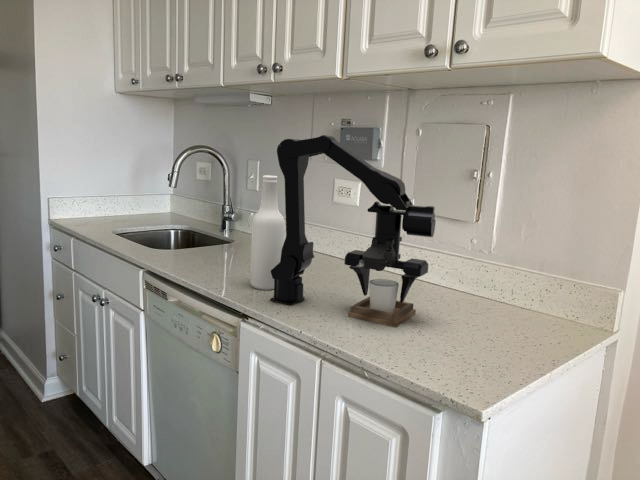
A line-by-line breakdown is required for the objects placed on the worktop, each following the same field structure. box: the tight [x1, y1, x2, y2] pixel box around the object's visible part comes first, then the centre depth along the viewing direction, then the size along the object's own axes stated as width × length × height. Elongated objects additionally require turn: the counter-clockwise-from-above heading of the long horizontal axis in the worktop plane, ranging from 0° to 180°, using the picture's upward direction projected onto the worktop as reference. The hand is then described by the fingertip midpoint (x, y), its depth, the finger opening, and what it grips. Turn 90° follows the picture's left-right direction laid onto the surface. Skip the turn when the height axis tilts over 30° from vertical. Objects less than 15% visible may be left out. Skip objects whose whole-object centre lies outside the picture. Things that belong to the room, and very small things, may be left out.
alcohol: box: [249, 174, 286, 291], centre depth 142 cm, size 9×9×30 cm
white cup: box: [368, 278, 399, 313], centre depth 123 cm, size 7×7×7 cm
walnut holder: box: [347, 296, 417, 328], centre depth 124 cm, size 12×12×2 cm
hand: (383, 298), depth 124 cm, fingers open, 9 cm apart
